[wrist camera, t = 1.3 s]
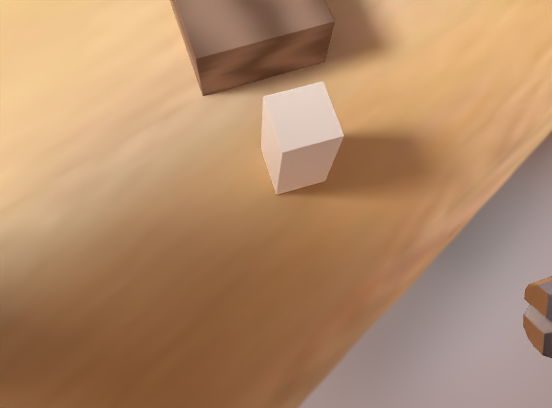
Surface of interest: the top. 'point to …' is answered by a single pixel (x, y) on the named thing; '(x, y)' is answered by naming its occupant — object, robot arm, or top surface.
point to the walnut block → (251, 38)
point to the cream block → (299, 136)
